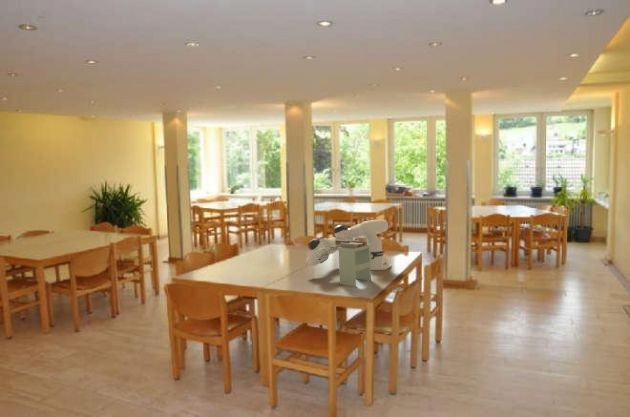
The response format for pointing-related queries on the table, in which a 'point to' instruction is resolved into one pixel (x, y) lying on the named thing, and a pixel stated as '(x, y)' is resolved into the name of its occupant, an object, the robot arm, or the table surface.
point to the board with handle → (348, 242)
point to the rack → (354, 262)
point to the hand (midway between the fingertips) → (334, 246)
